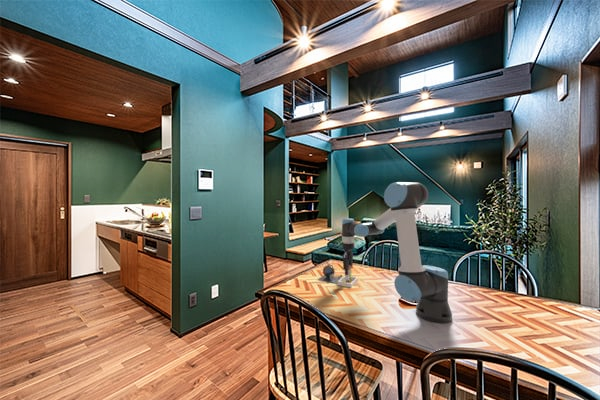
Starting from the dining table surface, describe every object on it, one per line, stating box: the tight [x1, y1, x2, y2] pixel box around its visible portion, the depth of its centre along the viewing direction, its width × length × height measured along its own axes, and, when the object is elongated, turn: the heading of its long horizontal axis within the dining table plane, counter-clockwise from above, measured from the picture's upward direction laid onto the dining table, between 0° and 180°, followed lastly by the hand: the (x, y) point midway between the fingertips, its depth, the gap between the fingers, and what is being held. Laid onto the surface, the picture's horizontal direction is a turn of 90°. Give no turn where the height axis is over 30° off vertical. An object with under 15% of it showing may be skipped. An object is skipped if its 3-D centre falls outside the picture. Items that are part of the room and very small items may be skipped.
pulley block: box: [317, 264, 343, 285], centre depth 162 cm, size 13×15×9 cm
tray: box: [337, 275, 359, 288], centre depth 155 cm, size 13×9×3 cm
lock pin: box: [344, 265, 352, 283], centre depth 155 cm, size 3×3×11 cm
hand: (348, 278), depth 155 cm, fingers closed on lock pin, 3 cm apart
